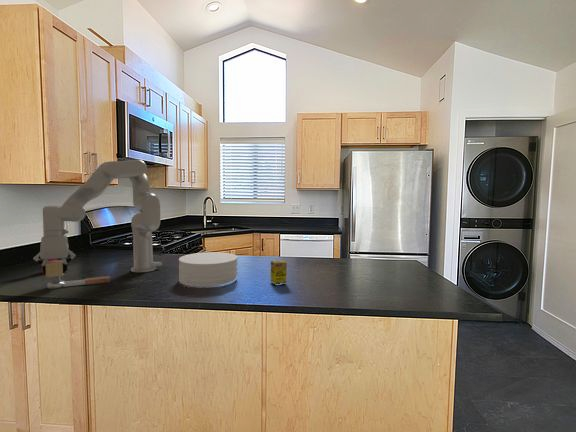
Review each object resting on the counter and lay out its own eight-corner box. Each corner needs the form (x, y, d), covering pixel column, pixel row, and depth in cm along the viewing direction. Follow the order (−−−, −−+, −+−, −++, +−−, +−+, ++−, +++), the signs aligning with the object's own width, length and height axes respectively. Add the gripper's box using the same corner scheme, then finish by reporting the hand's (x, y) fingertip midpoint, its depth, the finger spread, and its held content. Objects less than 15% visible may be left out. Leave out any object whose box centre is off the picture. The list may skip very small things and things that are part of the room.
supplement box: (275, 286, 148) (275, 263, 147) (270, 283, 153) (270, 260, 152) (286, 284, 150) (287, 262, 149) (281, 281, 156) (281, 259, 155)
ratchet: (109, 279, 155) (109, 268, 155) (109, 282, 149) (109, 271, 149) (48, 285, 143) (48, 273, 143) (46, 289, 138) (45, 277, 137)
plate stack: (199, 293, 137) (199, 267, 136) (168, 280, 156) (168, 257, 155) (248, 280, 157) (249, 257, 157) (216, 270, 176) (216, 250, 175)
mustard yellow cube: (64, 272, 146) (64, 259, 145) (62, 275, 140) (62, 262, 140) (48, 274, 143) (48, 261, 142) (46, 277, 138) (45, 263, 137)
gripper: (78, 231, 148) (79, 269, 149) (31, 233, 139) (33, 273, 141) (76, 233, 141) (77, 273, 142) (27, 235, 133) (29, 277, 134)
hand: (55, 273), depth 142 cm, fingers closed on mustard yellow cube, 6 cm apart
